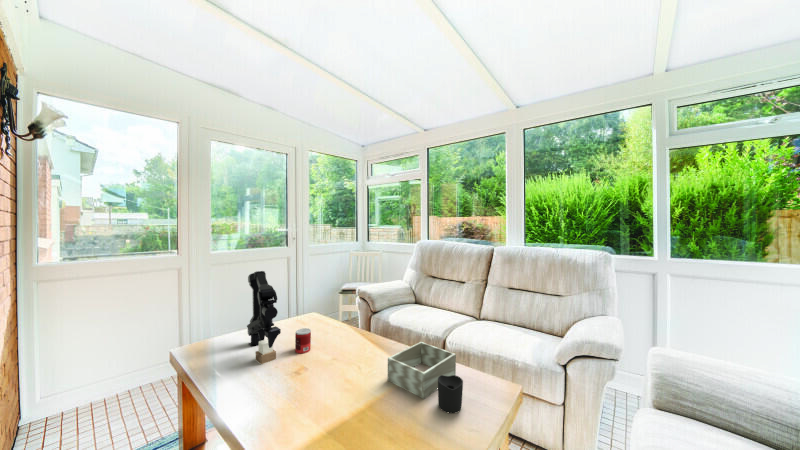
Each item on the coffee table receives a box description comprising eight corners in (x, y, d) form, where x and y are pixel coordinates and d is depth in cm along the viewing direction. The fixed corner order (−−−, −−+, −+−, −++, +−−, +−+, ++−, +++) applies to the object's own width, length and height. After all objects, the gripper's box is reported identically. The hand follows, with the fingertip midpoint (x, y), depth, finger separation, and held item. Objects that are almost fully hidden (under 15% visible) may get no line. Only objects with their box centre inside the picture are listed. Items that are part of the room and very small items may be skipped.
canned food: (312, 348, 160) (313, 328, 160) (306, 355, 152) (307, 334, 152) (299, 347, 161) (299, 327, 161) (292, 354, 153) (292, 333, 153)
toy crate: (387, 380, 129) (387, 357, 129) (420, 361, 147) (420, 341, 147) (423, 399, 116) (424, 373, 116) (455, 375, 134) (455, 353, 134)
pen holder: (445, 396, 118) (445, 371, 118) (466, 405, 112) (467, 379, 112) (432, 407, 111) (433, 380, 111) (454, 418, 105) (455, 390, 105)
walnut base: (255, 359, 145) (255, 351, 145) (269, 355, 151) (269, 347, 151) (261, 364, 141) (261, 356, 141) (275, 359, 146) (276, 351, 146)
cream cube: (258, 351, 145) (258, 341, 145) (268, 348, 149) (268, 338, 149) (262, 354, 142) (262, 344, 142) (273, 351, 146) (273, 341, 146)
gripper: (241, 313, 146) (241, 344, 146) (257, 322, 133) (257, 356, 133) (264, 308, 154) (263, 338, 154) (281, 316, 142) (281, 348, 142)
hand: (265, 345), depth 146 cm, fingers open, 9 cm apart
